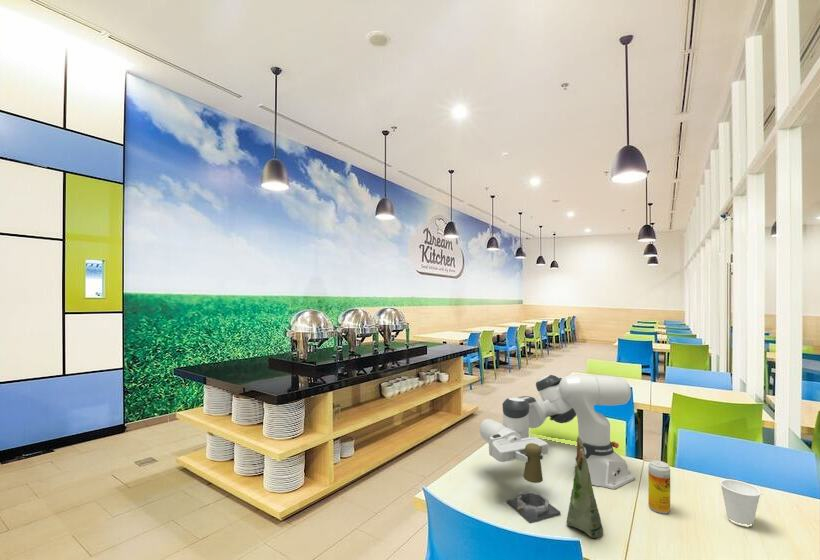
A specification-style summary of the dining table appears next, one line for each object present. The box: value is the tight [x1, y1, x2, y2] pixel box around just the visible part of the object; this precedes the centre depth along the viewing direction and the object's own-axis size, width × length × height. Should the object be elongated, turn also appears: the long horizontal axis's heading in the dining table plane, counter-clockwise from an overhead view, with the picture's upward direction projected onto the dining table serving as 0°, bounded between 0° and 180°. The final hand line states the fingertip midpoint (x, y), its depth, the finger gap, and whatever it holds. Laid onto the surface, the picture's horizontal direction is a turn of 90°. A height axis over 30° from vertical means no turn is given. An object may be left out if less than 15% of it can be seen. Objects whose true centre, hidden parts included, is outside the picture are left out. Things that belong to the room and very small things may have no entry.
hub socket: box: [506, 491, 561, 524], centre depth 129 cm, size 12×12×3 cm
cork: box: [523, 443, 544, 484], centre depth 129 cm, size 6×6×11 cm
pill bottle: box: [647, 459, 671, 515], centre depth 130 cm, size 6×6×15 cm
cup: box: [719, 478, 762, 525], centre depth 123 cm, size 10×10×11 cm
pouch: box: [566, 438, 604, 539], centre depth 120 cm, size 11×12×25 cm
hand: (535, 458), depth 129 cm, fingers closed on cork, 4 cm apart
